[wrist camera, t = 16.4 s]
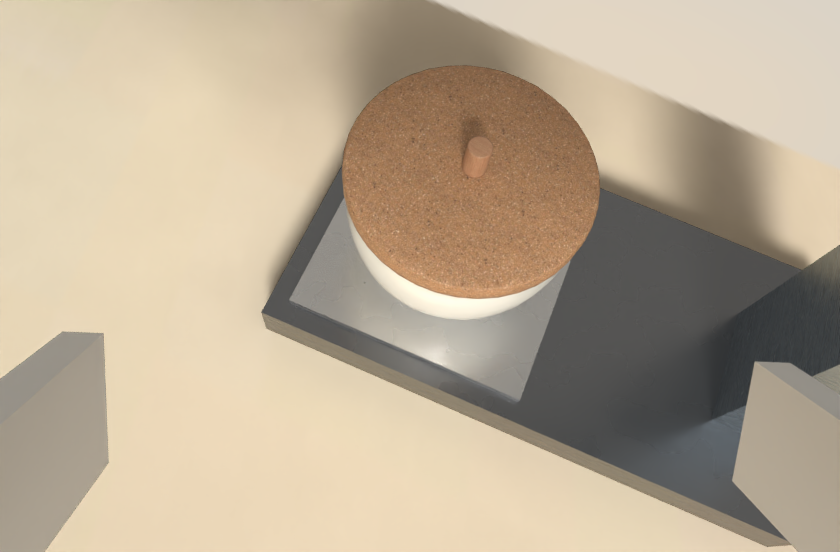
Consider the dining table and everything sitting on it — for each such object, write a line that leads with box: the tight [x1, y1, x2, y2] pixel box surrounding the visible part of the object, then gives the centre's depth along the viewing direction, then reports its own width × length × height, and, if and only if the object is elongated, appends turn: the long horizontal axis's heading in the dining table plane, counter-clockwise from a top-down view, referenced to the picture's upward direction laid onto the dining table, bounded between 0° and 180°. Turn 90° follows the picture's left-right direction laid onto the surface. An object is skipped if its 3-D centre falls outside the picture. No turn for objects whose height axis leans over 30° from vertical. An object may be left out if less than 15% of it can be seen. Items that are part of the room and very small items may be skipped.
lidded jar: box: [342, 65, 600, 320], centre depth 32 cm, size 11×11×9 cm
